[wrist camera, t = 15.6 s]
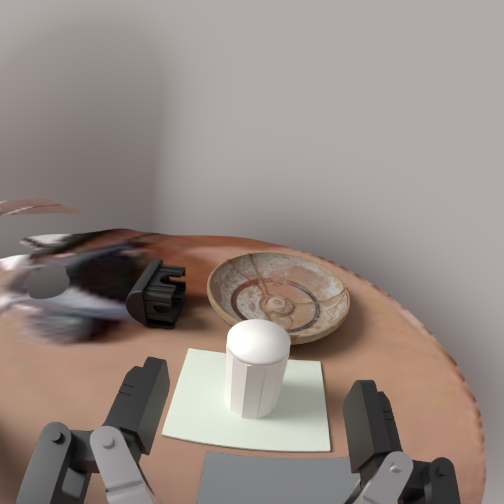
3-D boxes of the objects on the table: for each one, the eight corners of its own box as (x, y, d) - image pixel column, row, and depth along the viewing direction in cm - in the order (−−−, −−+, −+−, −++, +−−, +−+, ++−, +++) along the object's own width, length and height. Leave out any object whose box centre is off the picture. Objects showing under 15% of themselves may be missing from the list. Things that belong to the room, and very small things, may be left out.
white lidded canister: (222, 415, 29) (223, 358, 24) (228, 376, 34) (231, 316, 30) (276, 420, 28) (291, 364, 24) (276, 381, 34) (289, 322, 29)
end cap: (149, 290, 50) (145, 256, 47) (186, 294, 50) (185, 260, 47) (129, 325, 41) (122, 289, 38) (172, 332, 41) (168, 295, 38)
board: (162, 435, 25) (161, 434, 25) (189, 350, 38) (189, 348, 38) (329, 451, 25) (330, 450, 25) (319, 363, 37) (320, 361, 37)
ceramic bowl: (180, 331, 41) (178, 304, 39) (237, 263, 62) (239, 241, 59) (336, 377, 35) (346, 351, 33) (347, 289, 56) (353, 267, 53)
